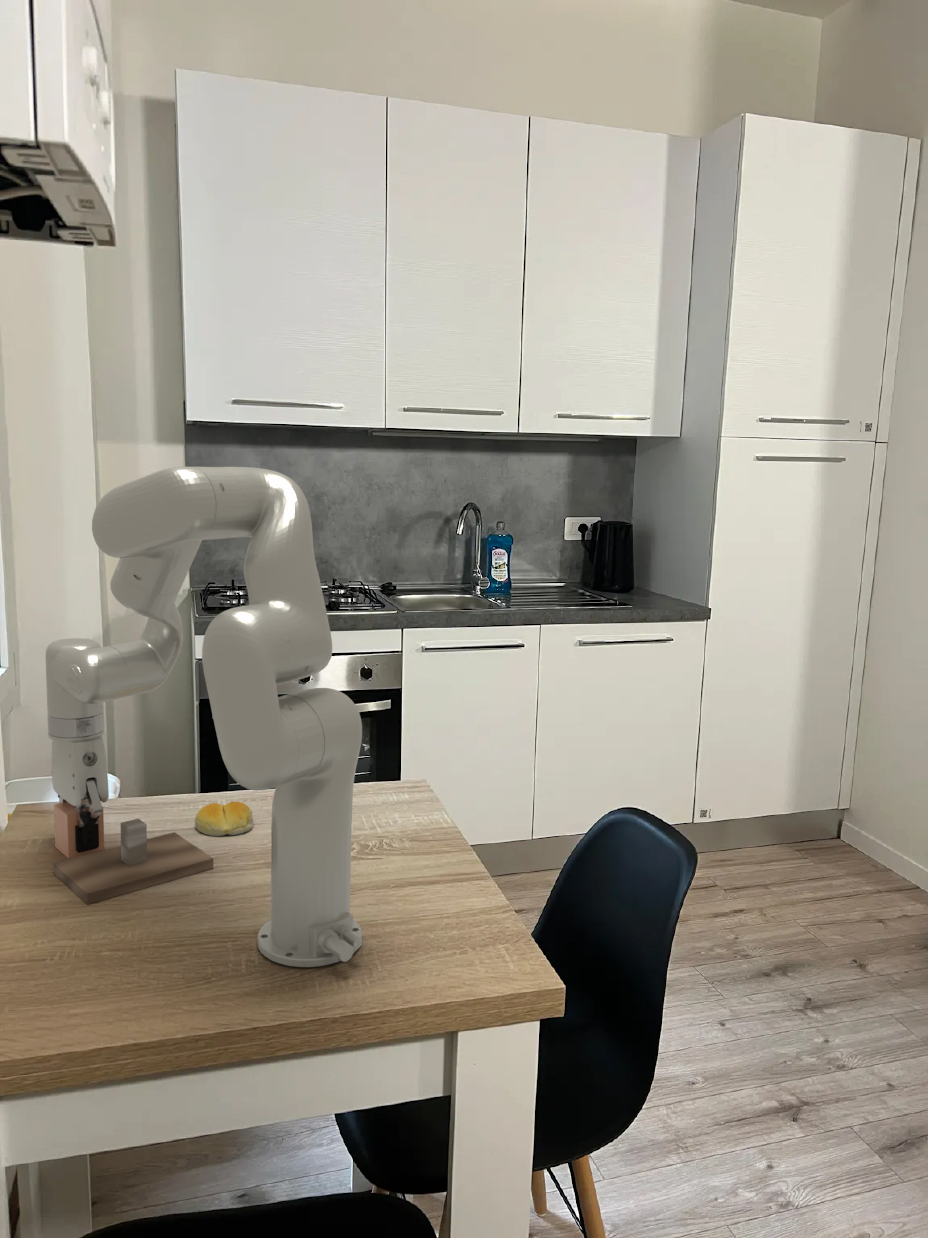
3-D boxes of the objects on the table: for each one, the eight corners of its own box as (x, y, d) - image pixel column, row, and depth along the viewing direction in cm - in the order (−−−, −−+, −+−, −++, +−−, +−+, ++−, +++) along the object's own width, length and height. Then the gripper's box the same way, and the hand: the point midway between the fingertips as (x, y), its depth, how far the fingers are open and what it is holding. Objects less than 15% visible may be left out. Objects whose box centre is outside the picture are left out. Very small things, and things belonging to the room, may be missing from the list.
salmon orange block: (104, 849, 141) (103, 807, 139) (68, 858, 137) (67, 815, 136) (90, 838, 144) (89, 797, 143) (55, 847, 141) (53, 804, 140)
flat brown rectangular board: (213, 868, 136) (213, 821, 135) (87, 904, 124) (85, 853, 123) (174, 841, 144) (174, 797, 143) (53, 873, 132) (51, 825, 131)
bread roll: (196, 819, 154) (196, 796, 153) (253, 817, 156) (253, 794, 155) (192, 840, 146) (192, 815, 145) (252, 837, 148) (252, 812, 147)
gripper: (126, 734, 134) (128, 856, 137) (79, 708, 146) (82, 820, 149) (72, 743, 129) (76, 869, 132) (28, 715, 141) (32, 831, 144)
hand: (79, 842), depth 141 cm, fingers closed on salmon orange block, 5 cm apart
